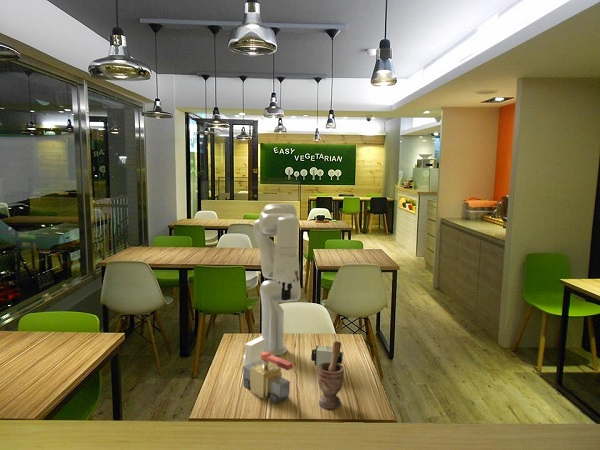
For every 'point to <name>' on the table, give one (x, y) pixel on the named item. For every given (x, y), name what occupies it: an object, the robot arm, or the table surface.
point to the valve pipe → (266, 381)
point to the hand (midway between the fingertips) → (286, 299)
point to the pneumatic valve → (324, 355)
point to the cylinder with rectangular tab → (253, 352)
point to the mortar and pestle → (331, 379)
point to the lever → (276, 360)
